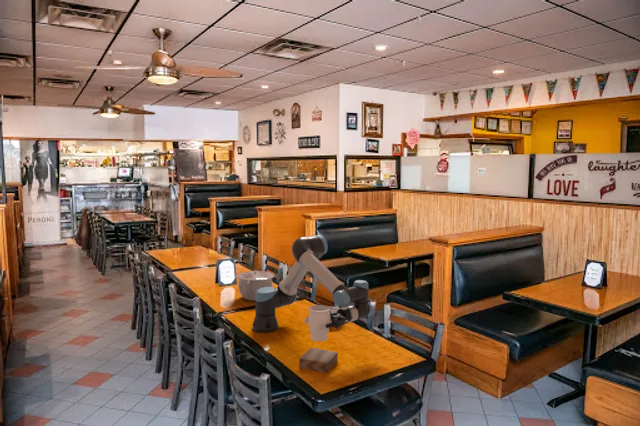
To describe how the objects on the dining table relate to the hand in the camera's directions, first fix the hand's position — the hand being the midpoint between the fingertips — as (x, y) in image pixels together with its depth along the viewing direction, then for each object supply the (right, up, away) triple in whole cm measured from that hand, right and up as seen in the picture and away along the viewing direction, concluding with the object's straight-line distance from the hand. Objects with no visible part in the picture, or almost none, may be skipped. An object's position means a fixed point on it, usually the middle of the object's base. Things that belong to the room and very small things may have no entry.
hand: (312, 324), depth 213 cm
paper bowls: (+10, -15, +63) cm, 66 cm away
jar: (+3, -8, +3) cm, 9 cm away
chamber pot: (-43, -9, +112) cm, 121 cm away
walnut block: (+3, -21, +5) cm, 22 cm away
